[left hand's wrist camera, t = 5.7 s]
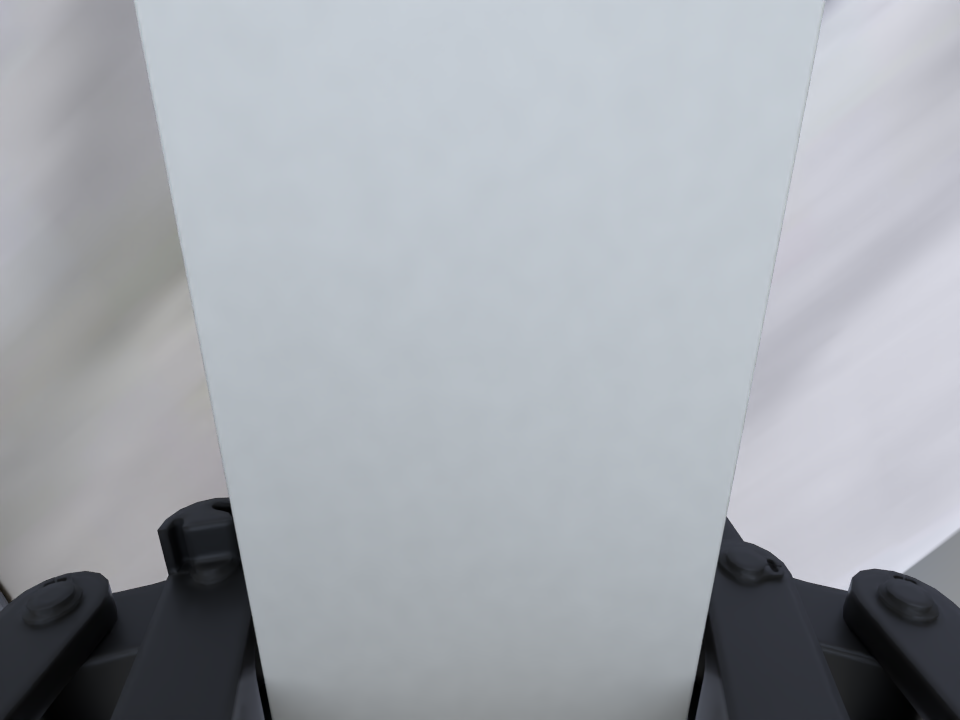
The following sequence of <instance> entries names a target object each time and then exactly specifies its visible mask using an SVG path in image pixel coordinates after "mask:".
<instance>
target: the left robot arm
mask: <svg viewBox="0 0 960 720" xmlns="http://www.w3.org/2000/svg"><path fill="white" fill-rule="evenodd" d="M157 531H158V535H159V539H160V543H161V547H162V551H163V555H164V559H165V562H166V566H167V570H168V574H169V576H168V578H167V580H166V581H162V582H159V583H156V584H152V585H148V586H143V587H139V588H134V589H130V590H125V591H121V592H116V593H112V591H111V588H110V585H109V581H108V580H107V579H106V578H105V577H104V576H103V575H101V574H100V573H95V572H89V571H82V572H75V573H67V574H64V575H61V576H57V577H54V578H51V579H49V580H46V581H44V582H42V583H40V584H38V585H36V586H34V587H32V588H30V589H28V590H26V591H25V592H23V593H22V594H21V595H19V596H18V597H17V598H16V599H14V600H13V601H12V602H10V603H9V604H8V602H7V600H6V598H5V597H4V595H3V594H2V592H1V591H0V720H272V716H271V711H270V706H269V701H268V696H267V691H266V685H265V680H264V675H263V670H262V665H261V659H260V654H259V649H258V644H257V639H256V633H255V628H254V623H253V618H252V613H251V608H250V602H249V597H248V592H247V587H246V582H245V576H244V571H243V566H242V561H241V556H240V551H239V545H238V540H237V535H236V530H235V525H234V519H233V514H232V509H231V504H230V499H229V498H214V499H209V500H205V501H201V502H197V503H194V504H192V505H190V506H187V507H185V508H183V509H180V510H179V511H177V512H176V513H175V514H173V515H172V516H170V517H169V518H167V519H166V520H165V521H164V523H163V524H162V525H161V526H160V528H159V529H158V530H157ZM687 720H960V608H959V607H958V606H957V605H955V604H954V603H953V602H952V601H951V600H949V599H948V598H947V597H946V596H944V595H943V594H941V593H940V592H939V591H938V590H936V589H935V588H933V587H931V586H929V585H927V584H925V583H923V582H921V581H919V580H917V579H915V578H913V577H910V576H907V575H904V574H901V573H898V572H894V571H888V570H881V569H870V570H863V571H860V572H858V573H857V574H856V575H855V576H854V577H852V580H851V583H850V587H849V590H848V591H845V590H840V589H836V588H831V587H827V586H822V585H818V584H813V583H809V582H805V581H802V580H798V579H795V578H793V577H792V575H791V573H790V572H789V570H788V569H787V567H786V566H785V564H784V563H783V562H782V561H781V560H779V559H778V558H777V557H776V556H774V555H773V554H772V553H771V552H769V551H767V550H765V549H763V548H761V547H759V546H756V545H754V544H751V543H748V542H744V541H743V540H742V538H741V537H740V535H739V534H738V532H737V531H736V529H735V528H734V527H733V525H732V524H731V522H730V521H729V519H728V518H727V517H726V520H725V525H724V531H723V536H722V541H721V546H720V551H719V557H718V562H717V567H716V572H715V577H714V583H713V588H712V593H711V598H710V603H709V609H708V614H707V619H706V624H705V629H704V634H703V640H702V645H701V650H700V655H699V660H698V666H697V671H696V676H695V681H694V686H693V692H692V697H691V702H690V707H689V712H688V718H687Z"/></svg>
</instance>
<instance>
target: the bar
mask: <svg viewBox="0 0 960 720" xmlns="http://www.w3.org/2000/svg"><path fill="white" fill-rule="evenodd" d="M133 1H134V6H135V12H136V17H137V22H138V27H139V32H140V37H141V43H142V48H143V53H144V58H145V63H146V69H147V74H148V79H149V84H150V89H151V94H152V100H153V105H154V110H155V115H156V120H157V126H158V131H159V136H160V141H161V146H162V151H163V157H164V162H165V167H166V172H167V177H168V183H169V188H170V193H171V198H172V203H173V208H174V214H175V219H176V224H177V229H178V234H179V240H180V245H181V250H182V255H183V260H184V265H185V271H186V276H187V281H188V286H189V291H190V297H191V302H192V307H193V312H194V317H195V322H196V328H197V333H198V338H199V343H200V348H201V354H202V359H203V364H204V369H205V374H206V380H207V385H208V390H209V395H210V400H211V405H212V411H213V416H214V421H215V426H216V431H217V437H218V442H219V447H220V452H221V457H222V462H223V468H224V473H225V478H226V483H227V488H228V494H229V499H230V504H231V509H232V514H233V519H234V525H235V530H236V535H237V540H238V545H239V551H240V556H241V561H242V566H243V571H244V576H245V582H246V587H247V592H248V597H249V602H250V608H251V613H252V618H253V623H254V628H255V633H256V639H257V644H258V649H259V654H260V659H261V665H262V670H263V675H264V680H265V685H266V691H267V696H268V701H269V706H270V711H271V716H272V720H687V718H688V712H689V707H690V702H691V697H692V692H693V686H694V681H695V676H696V671H697V666H698V660H699V655H700V650H701V645H702V640H703V634H704V629H705V624H706V619H707V614H708V609H709V603H710V598H711V593H712V588H713V583H714V577H715V572H716V567H717V562H718V557H719V551H720V546H721V541H722V536H723V531H724V525H725V520H726V515H727V510H728V505H729V500H730V494H731V489H732V484H733V479H734V474H735V468H736V463H737V458H738V453H739V448H740V442H741V437H742V432H743V427H744V422H745V416H746V411H747V406H748V401H749V396H750V391H751V385H752V380H753V375H754V370H755V365H756V359H757V354H758V349H759V344H760V339H761V333H762V328H763V323H764V318H765V313H766V307H767V302H768V297H769V292H770V287H771V281H772V276H773V271H774V266H775V261H776V256H777V250H778V245H779V240H780V235H781V230H782V224H783V219H784V214H785V209H786V204H787V198H788V193H789V188H790V183H791V178H792V172H793V167H794V162H795V157H796V152H797V147H798V141H799V136H800V131H801V126H802V121H803V115H804V110H805V105H806V100H807V95H808V89H809V84H810V79H811V74H812V69H813V63H814V58H815V53H816V48H817V43H818V38H819V32H820V27H821V22H822V17H823V12H824V6H825V1H826V0H133Z"/></svg>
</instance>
